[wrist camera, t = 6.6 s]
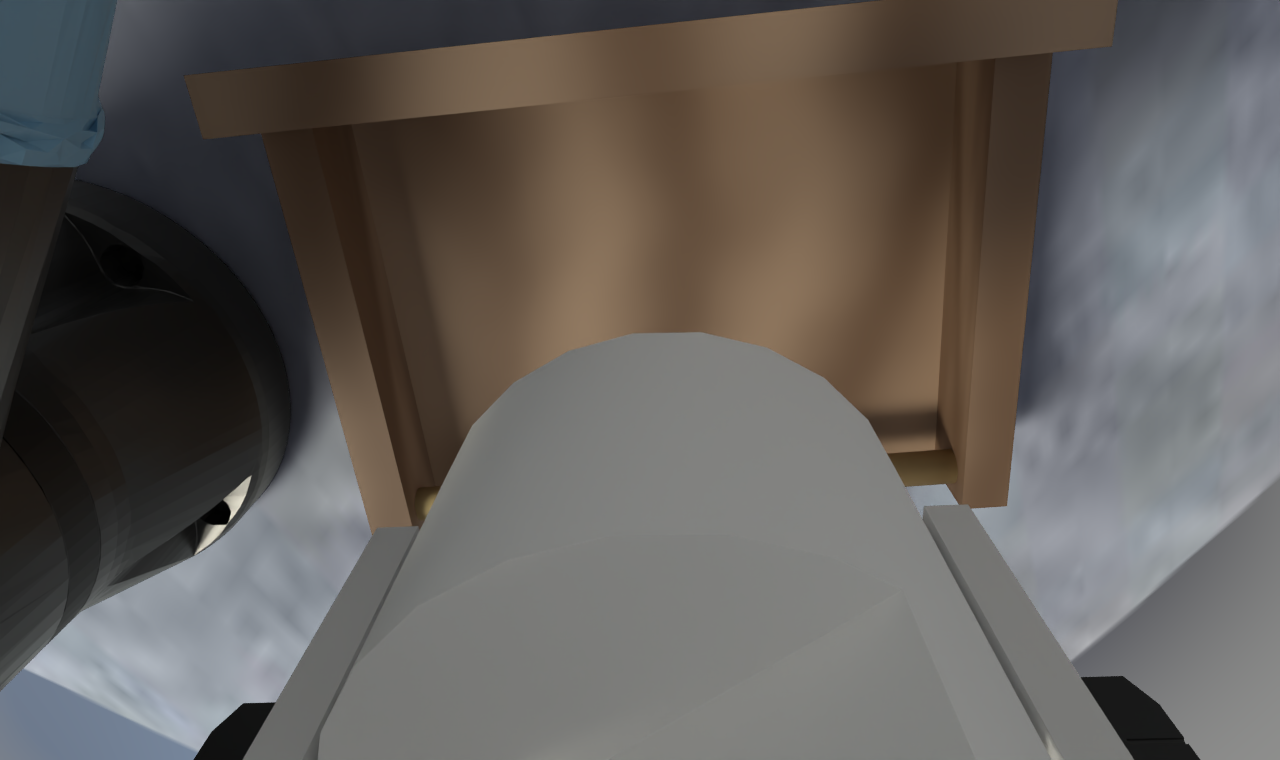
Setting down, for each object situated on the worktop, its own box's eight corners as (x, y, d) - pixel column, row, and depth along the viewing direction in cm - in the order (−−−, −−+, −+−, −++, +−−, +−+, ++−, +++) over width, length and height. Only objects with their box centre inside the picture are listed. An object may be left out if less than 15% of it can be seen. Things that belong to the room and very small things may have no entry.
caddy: (408, 490, 32) (345, 604, 25) (303, 65, 26) (183, 75, 19) (965, 449, 31) (1046, 559, 24) (999, -10, 24) (1121, -26, 18)
